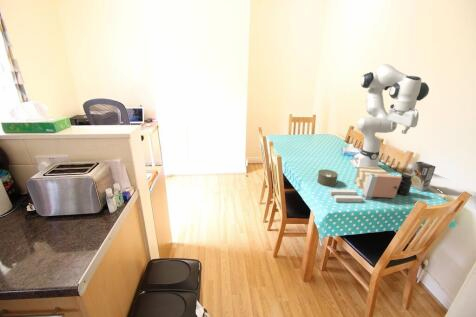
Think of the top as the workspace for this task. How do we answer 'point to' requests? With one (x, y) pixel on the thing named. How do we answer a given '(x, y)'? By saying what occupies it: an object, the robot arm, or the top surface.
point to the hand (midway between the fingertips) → (398, 131)
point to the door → (382, 186)
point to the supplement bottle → (404, 185)
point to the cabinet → (363, 176)
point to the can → (327, 178)
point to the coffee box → (422, 175)
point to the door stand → (345, 195)
